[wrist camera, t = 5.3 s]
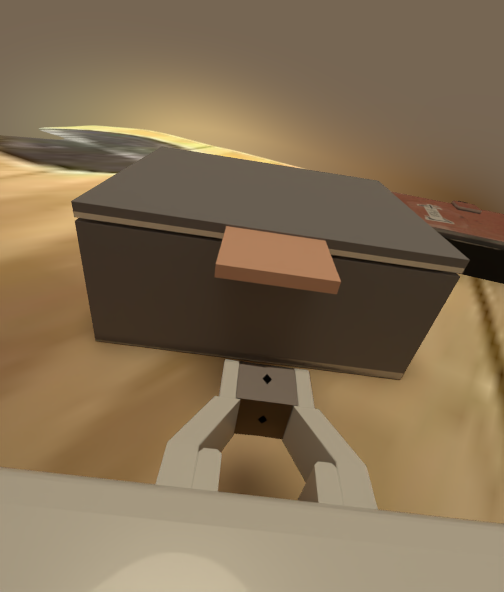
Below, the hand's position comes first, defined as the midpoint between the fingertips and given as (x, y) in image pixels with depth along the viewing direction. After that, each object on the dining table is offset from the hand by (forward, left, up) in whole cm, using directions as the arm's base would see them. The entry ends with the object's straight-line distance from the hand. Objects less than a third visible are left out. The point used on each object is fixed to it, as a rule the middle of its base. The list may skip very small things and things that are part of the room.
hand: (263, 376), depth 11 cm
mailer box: (-6, +14, -6) cm, 16 cm away
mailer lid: (-5, +12, +2) cm, 13 cm away
